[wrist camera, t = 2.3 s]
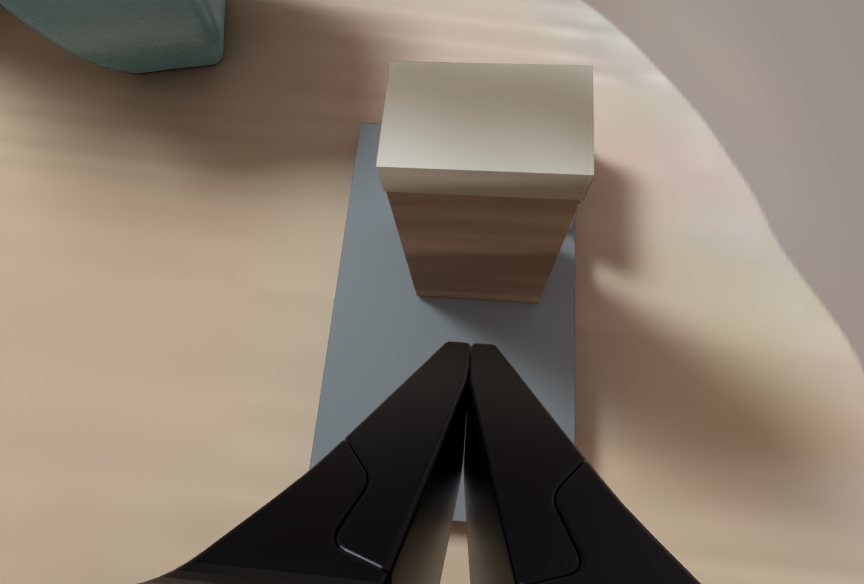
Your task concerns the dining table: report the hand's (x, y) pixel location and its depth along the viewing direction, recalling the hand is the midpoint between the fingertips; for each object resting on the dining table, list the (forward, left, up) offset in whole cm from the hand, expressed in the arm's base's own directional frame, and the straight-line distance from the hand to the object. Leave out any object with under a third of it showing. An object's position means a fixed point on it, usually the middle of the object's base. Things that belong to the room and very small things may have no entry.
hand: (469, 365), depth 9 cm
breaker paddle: (+6, 0, -12) cm, 14 cm away
